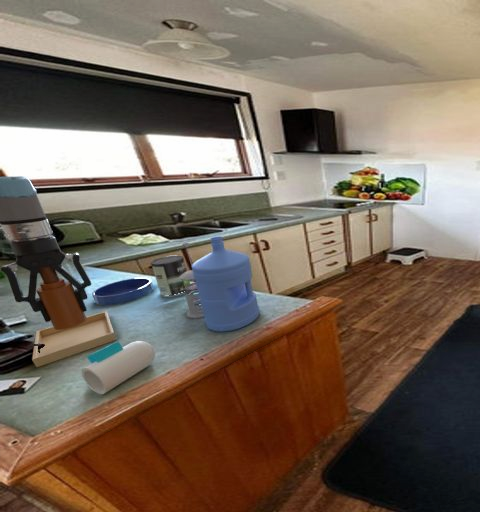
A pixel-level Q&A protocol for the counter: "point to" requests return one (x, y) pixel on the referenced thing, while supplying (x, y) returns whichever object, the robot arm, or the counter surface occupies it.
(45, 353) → the tray
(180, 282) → the coffee can
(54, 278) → the bottle
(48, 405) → the counter surface
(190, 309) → the french press
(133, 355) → the mug
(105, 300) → the bowl
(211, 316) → the water jug
